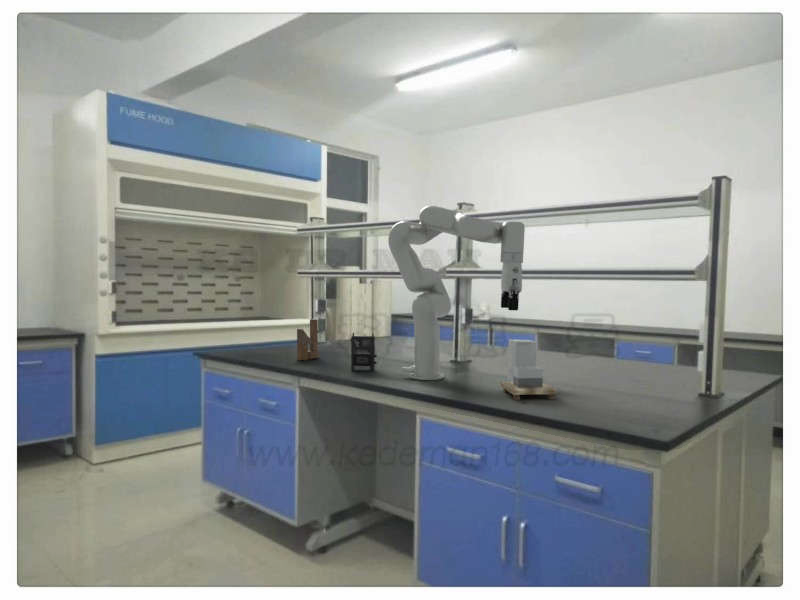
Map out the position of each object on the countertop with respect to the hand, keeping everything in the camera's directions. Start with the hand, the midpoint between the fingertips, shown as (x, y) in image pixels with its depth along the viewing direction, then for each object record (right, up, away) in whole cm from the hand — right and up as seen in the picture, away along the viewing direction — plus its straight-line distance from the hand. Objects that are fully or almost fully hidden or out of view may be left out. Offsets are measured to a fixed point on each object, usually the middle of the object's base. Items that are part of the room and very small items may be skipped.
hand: (509, 308), depth 191 cm
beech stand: (+4, -28, -10) cm, 30 cm away
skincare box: (+6, -27, +9) cm, 29 cm away
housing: (+4, -25, -10) cm, 27 cm away
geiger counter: (-52, -26, +36) cm, 68 cm away
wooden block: (-79, -24, +64) cm, 104 cm away
